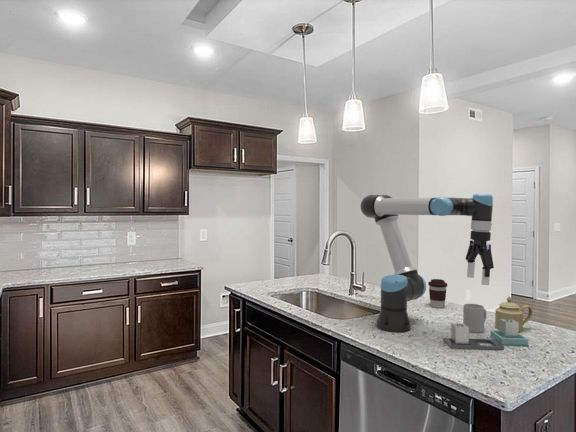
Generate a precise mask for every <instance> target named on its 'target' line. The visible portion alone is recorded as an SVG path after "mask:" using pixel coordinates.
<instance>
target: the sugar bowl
mask: <svg viewBox="0 0 576 432" xmlns="http://www.w3.org/2000/svg"><path fill="white" fill-rule="evenodd" d="M498 306H499V307H496V308H495V314H494V315H495V316H494V317H495V318H494V321H495V326H494V327H495V329H497V330H498V331H500V319H513V320H515V321H516V322H518V323H519V331H518V332H519V333H523V332H524V325H525V324H527V323H528V322H529V321H530V320H531V318H532V315H533V309H532V307H531V306H530V305H528V304H524V305H522V306H521V308H520V305H518V304H516V303H514V302H512V298H511V296H509V295H508V297H507V298H506V301H503V302H501V303H498ZM526 308H527V309H528V315H527V316H526V317H525V318H524V311H525V309H526Z"/></svg>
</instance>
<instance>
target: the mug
mask: <svg viewBox="0 0 576 432" xmlns="http://www.w3.org/2000/svg"><path fill="white" fill-rule="evenodd" d="M462 320H463V323H462V324H465V325H466V326H468V327H469V333H473V334H480V333H481V334H482V333H483V332H485V322H486V321H487V309H485V306H484V305H481V304H478V303H464V304H463V319H462Z"/></svg>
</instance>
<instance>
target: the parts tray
mask: <svg viewBox="0 0 576 432" xmlns="http://www.w3.org/2000/svg"><path fill="white" fill-rule="evenodd" d="M489 335H490V339H493V340H495V341H496V342H497V343H500V345H501V346H508V347H511V346H512V347H529V338H527V337H525V336H524V335H523V334H521V333H520V332H519V333H518V338H502V337H501V336H500V330H498V329H497V330H496V329H495V330H493V329H491V330H490V334H489Z"/></svg>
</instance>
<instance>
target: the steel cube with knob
mask: <svg viewBox="0 0 576 432" xmlns="http://www.w3.org/2000/svg"><path fill="white" fill-rule="evenodd" d="M499 331H500V336H501V337H502V338H518V331H519V323H518V322H516V321H515V320H513V319H500V330H499Z"/></svg>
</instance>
